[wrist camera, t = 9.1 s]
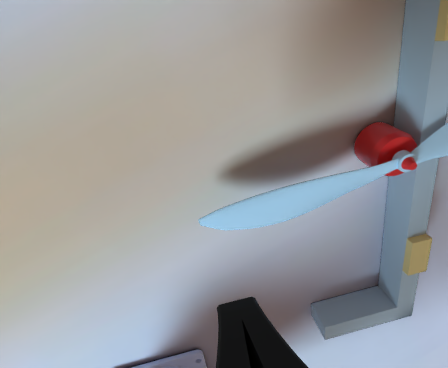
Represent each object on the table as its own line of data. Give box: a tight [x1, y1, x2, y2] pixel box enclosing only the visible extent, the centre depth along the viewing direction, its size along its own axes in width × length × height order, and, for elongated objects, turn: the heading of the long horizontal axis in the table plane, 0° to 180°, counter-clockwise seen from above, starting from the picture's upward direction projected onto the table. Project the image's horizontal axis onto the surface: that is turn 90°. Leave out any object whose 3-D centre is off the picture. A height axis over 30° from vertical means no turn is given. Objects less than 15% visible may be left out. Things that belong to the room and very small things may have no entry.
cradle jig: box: [311, 0, 448, 340], centre depth 20 cm, size 30×8×3 cm, turn 9°
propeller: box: [199, 122, 448, 230], centre depth 20 cm, size 4×25×4 cm, turn 105°
